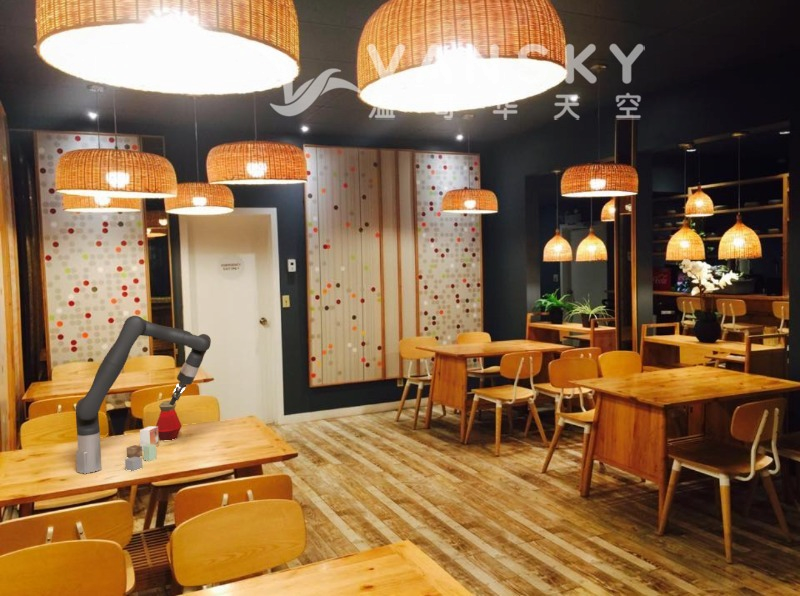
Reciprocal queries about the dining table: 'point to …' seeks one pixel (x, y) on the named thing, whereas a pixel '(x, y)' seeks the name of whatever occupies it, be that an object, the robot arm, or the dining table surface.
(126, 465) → the grey cube
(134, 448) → the walnut block
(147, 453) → the sage block
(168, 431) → the bottle
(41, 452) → the dining table surface
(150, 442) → the small box
